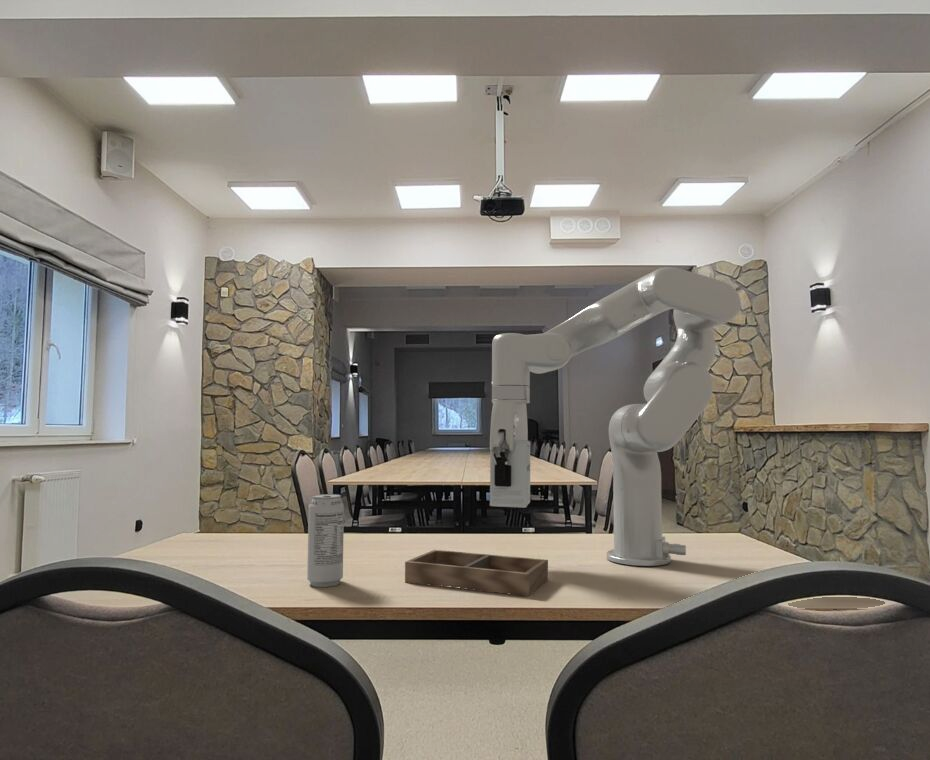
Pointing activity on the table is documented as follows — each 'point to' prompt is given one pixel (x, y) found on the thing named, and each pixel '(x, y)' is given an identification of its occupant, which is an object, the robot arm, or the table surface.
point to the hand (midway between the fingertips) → (510, 484)
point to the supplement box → (513, 478)
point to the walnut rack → (478, 571)
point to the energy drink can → (325, 540)
